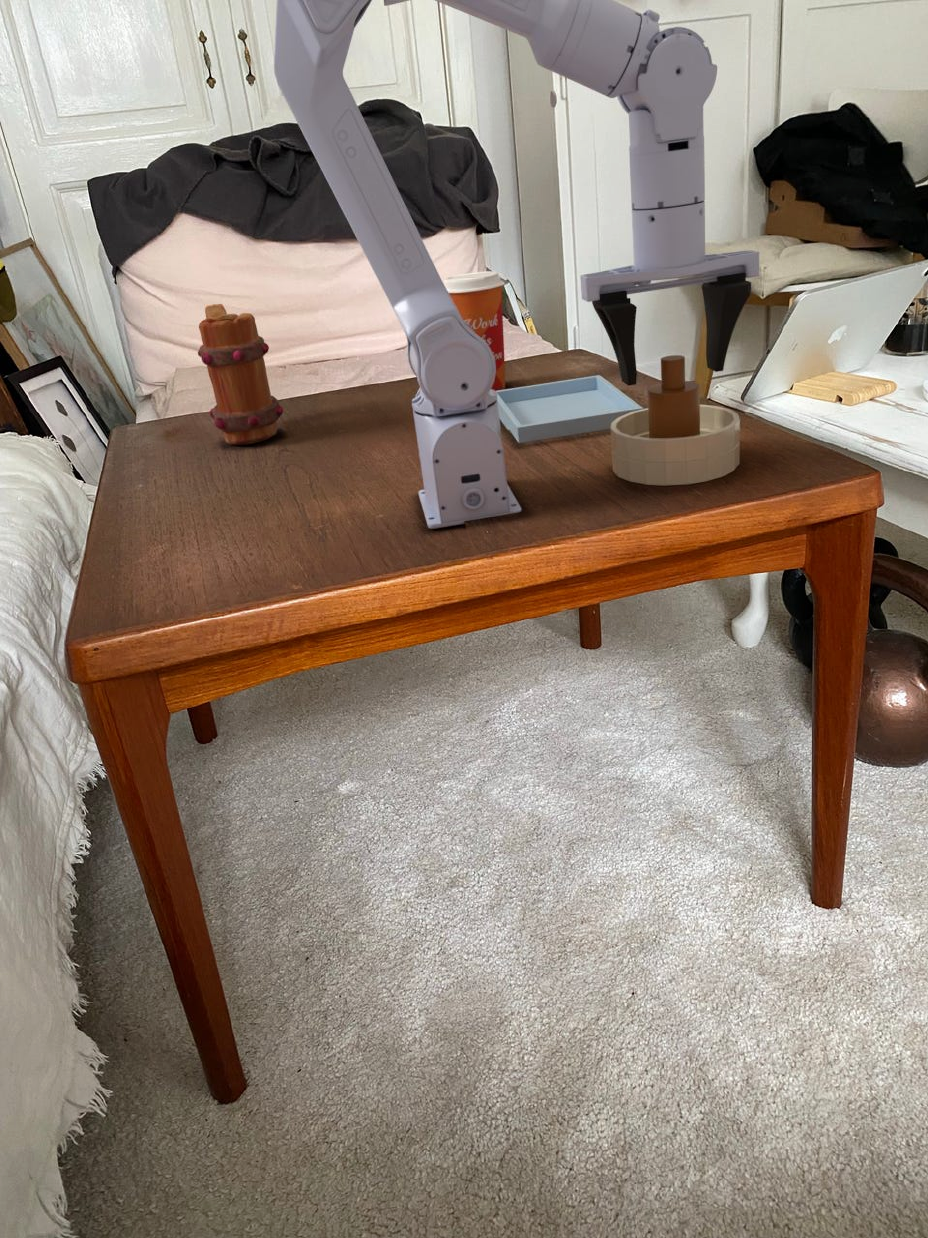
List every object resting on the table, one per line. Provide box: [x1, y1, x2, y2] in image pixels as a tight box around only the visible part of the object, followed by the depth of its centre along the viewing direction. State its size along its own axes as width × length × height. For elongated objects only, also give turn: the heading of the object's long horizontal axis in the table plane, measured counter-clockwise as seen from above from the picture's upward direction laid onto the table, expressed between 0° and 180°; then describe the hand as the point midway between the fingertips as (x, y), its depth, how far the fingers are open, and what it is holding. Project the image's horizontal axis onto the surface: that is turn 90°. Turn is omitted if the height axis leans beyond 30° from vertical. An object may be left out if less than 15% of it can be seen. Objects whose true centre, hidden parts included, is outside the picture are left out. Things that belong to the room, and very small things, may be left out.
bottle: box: [647, 354, 701, 438], centre depth 83 cm, size 4×4×10 cm
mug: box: [197, 303, 284, 446], centre depth 112 cm, size 15×8×15 cm, turn 22°
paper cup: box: [443, 270, 506, 391], centre depth 119 cm, size 8×8×14 cm
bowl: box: [610, 403, 741, 487], centre depth 84 cm, size 11×11×4 cm
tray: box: [496, 374, 644, 444], centre depth 105 cm, size 17×13×2 cm
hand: (672, 375), depth 82 cm, fingers open, 7 cm apart
